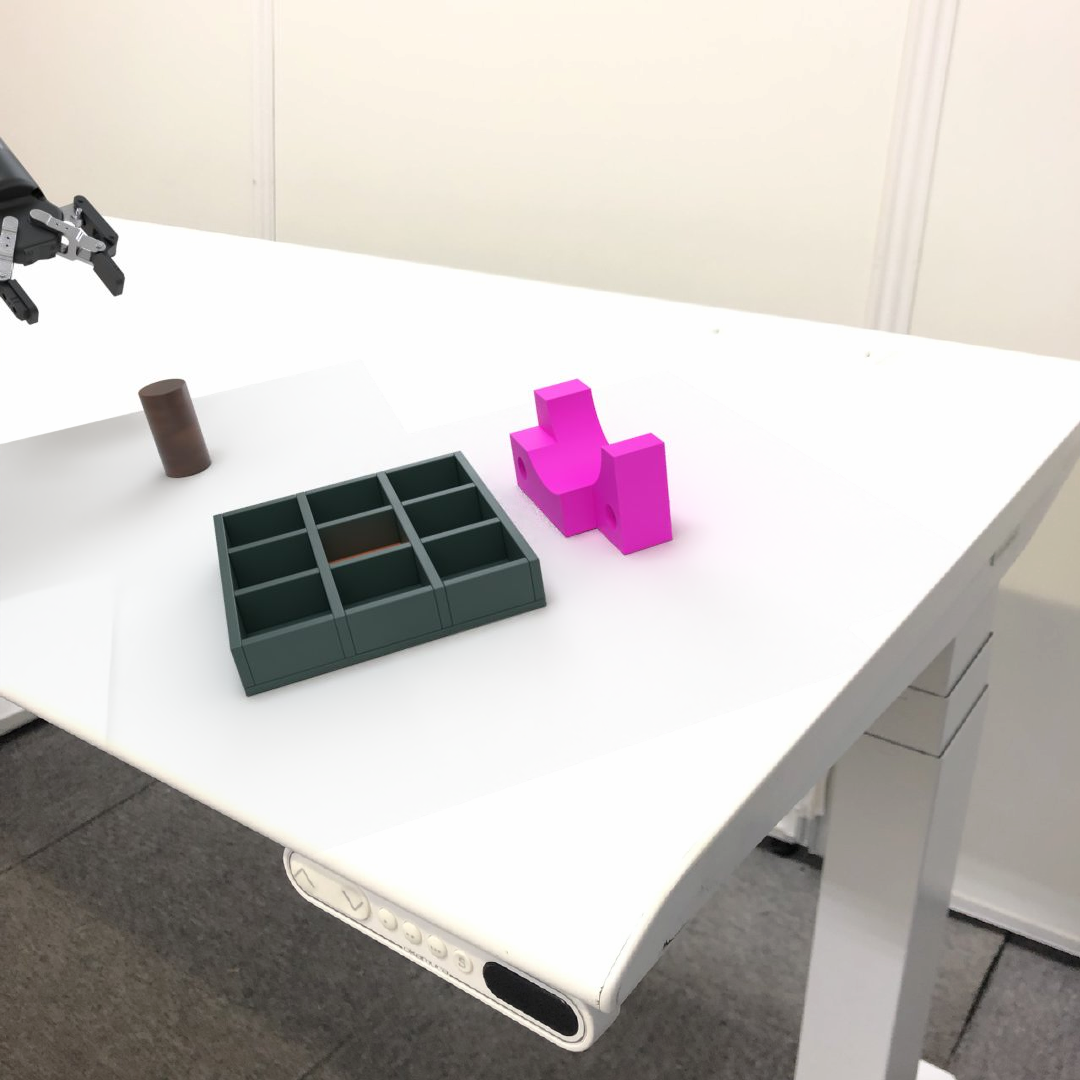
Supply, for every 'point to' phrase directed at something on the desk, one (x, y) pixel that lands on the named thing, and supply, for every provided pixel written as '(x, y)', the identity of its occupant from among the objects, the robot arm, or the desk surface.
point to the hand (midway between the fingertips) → (78, 303)
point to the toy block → (592, 472)
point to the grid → (368, 570)
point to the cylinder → (175, 427)
